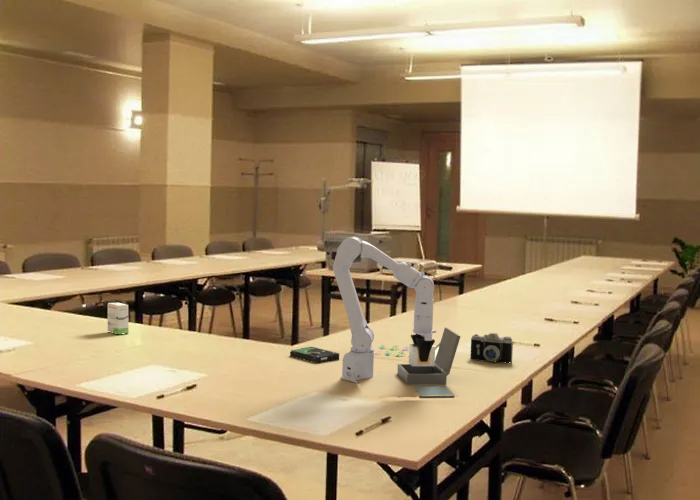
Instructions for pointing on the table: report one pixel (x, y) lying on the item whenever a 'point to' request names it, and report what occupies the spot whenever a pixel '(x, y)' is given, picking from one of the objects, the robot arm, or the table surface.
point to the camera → (491, 348)
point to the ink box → (118, 318)
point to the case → (442, 363)
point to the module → (415, 359)
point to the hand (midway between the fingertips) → (421, 359)
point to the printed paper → (400, 351)
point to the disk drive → (315, 354)
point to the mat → (433, 391)
